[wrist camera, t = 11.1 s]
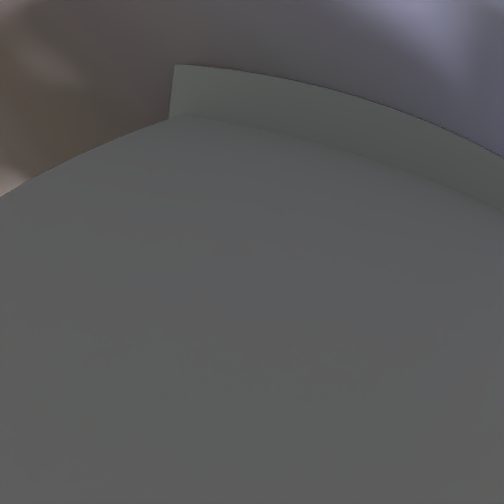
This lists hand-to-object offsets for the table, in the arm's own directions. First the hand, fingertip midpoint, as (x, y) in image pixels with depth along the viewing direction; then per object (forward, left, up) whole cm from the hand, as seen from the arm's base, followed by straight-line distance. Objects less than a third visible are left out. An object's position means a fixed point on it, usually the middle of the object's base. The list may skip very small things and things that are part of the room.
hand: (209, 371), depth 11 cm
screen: (+7, -4, -4) cm, 9 cm away
